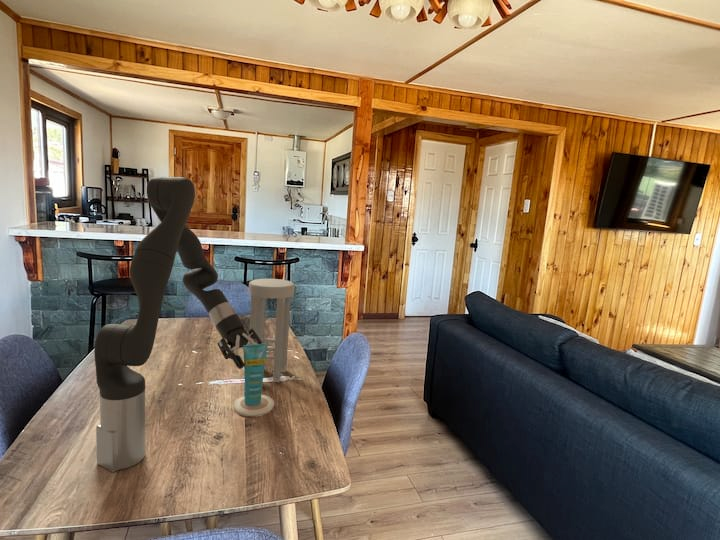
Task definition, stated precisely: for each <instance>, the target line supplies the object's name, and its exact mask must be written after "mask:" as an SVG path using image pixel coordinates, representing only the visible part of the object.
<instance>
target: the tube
mask: <svg viewBox="0 0 720 540" xmlns="http://www.w3.org/2000/svg"><path fill="white" fill-rule="evenodd" d="M268 346H269V342H264V343H263V344H257V345H243V348H242V351H243V362H244V364H245V366H244V367H243V368H244V396H245V404H246V405H248V406H256V405H259V404H260V403H261V395H263V393H262V391H263V382H264V375H265V367H266V366H265V364H266V360H267V359H266V355H267V352H268V351H267V347H268Z"/></svg>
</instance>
